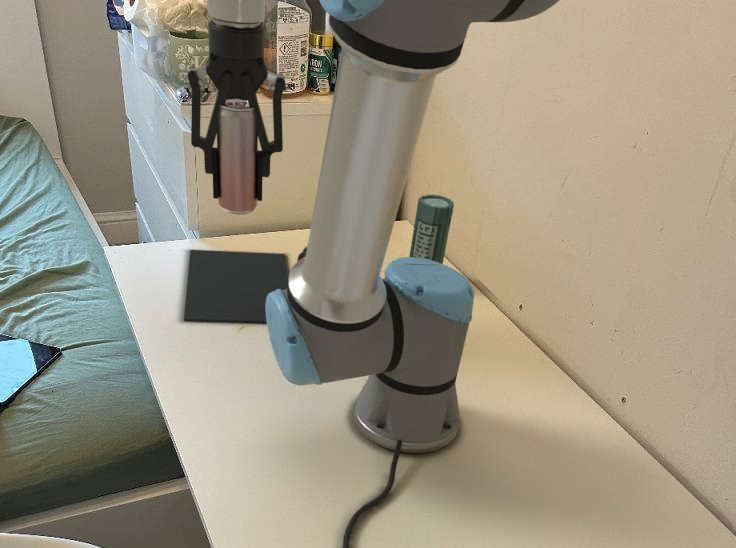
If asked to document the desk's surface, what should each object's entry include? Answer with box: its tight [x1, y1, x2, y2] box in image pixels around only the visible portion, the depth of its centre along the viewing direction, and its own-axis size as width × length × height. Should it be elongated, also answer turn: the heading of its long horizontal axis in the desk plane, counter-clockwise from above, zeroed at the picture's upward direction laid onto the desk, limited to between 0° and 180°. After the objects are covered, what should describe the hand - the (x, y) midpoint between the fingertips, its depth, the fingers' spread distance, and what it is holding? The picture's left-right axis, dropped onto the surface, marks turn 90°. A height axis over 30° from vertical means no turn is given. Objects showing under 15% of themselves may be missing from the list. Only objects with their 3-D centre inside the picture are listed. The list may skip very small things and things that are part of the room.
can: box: [408, 193, 455, 264], centre depth 136 cm, size 6×6×15 cm
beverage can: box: [216, 98, 259, 216], centre depth 111 cm, size 6×6×15 cm
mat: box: [183, 249, 289, 324], centre depth 132 cm, size 26×18×1 cm
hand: (237, 195), depth 114 cm, fingers closed on beverage can, 6 cm apart
